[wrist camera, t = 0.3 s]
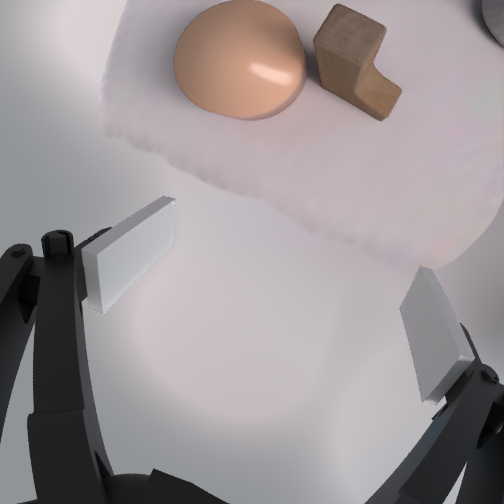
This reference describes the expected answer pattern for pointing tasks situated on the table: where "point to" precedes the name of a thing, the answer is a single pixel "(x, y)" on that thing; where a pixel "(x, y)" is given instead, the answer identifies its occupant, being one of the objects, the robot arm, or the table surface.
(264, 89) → the peach disc
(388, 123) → the table surface
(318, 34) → the wooden block
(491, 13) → the coffee pot
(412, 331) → the robot arm
